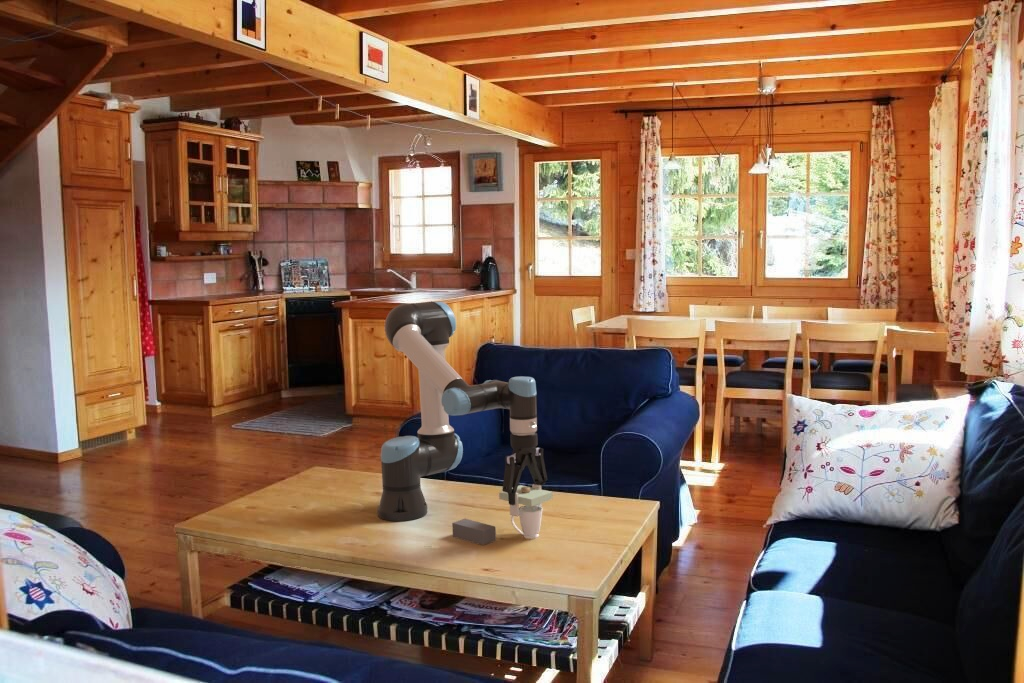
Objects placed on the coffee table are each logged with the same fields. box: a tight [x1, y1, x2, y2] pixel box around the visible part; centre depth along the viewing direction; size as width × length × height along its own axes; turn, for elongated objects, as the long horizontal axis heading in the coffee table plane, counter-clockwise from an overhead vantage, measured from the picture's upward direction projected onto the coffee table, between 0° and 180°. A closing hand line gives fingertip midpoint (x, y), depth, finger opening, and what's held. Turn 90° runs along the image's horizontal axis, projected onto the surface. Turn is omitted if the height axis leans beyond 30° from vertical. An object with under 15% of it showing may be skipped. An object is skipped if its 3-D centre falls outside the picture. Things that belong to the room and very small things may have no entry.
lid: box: [498, 484, 554, 507], centre depth 244 cm, size 12×9×3 cm
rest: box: [452, 518, 497, 546], centre depth 244 cm, size 12×5×4 cm, turn 48°
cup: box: [510, 505, 543, 540], centre depth 245 cm, size 7×10×8 cm
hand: (526, 511), depth 245 cm, fingers closed on lid, 9 cm apart
